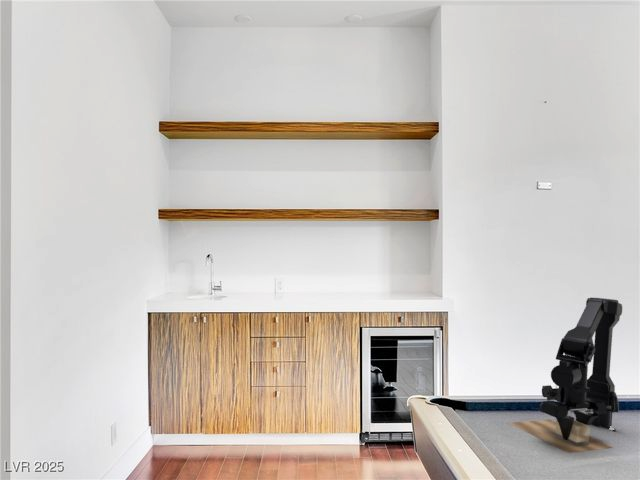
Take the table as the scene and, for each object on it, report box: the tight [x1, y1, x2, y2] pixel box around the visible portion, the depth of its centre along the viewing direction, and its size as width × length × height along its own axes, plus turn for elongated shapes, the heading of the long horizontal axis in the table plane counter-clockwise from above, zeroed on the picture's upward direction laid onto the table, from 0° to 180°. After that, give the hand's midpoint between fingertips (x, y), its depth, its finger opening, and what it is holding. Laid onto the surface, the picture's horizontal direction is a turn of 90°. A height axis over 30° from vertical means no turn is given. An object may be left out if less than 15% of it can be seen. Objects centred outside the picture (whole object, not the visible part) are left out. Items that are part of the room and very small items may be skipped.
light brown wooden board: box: [508, 419, 614, 454], centre depth 143 cm, size 16×22×1 cm
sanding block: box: [555, 418, 591, 446], centre depth 139 cm, size 4×7×5 cm, turn 22°
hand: (572, 438), depth 138 cm, fingers closed on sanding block, 4 cm apart
